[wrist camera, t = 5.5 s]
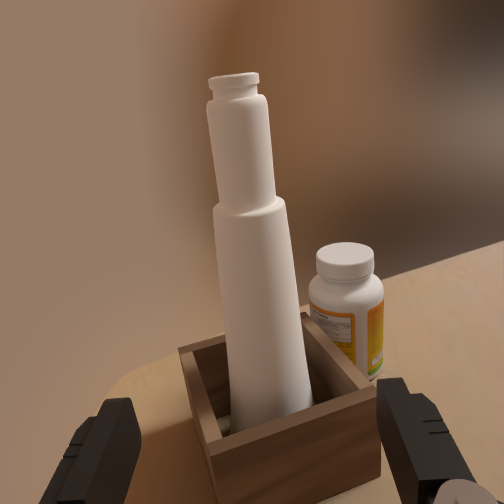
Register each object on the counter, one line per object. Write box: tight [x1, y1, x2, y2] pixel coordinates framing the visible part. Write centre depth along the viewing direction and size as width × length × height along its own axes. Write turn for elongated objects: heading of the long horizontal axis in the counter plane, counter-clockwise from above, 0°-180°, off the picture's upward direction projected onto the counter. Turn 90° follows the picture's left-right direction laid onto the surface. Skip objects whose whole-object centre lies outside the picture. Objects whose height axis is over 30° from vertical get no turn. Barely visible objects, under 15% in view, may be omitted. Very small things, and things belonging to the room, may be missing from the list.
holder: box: [178, 312, 381, 504], centre depth 26 cm, size 9×9×6 cm
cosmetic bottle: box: [206, 72, 315, 435], centre depth 23 cm, size 6×6×22 cm
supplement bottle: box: [309, 242, 384, 380], centre depth 31 cm, size 5×5×10 cm
